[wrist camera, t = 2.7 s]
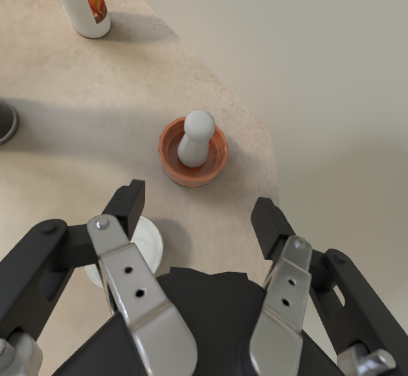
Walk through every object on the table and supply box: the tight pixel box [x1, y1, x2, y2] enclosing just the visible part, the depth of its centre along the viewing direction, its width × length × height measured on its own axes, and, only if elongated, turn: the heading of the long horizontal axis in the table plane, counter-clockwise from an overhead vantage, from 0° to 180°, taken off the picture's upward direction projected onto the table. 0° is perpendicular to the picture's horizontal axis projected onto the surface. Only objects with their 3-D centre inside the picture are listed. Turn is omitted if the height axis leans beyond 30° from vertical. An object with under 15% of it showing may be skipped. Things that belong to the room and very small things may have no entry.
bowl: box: [158, 116, 228, 187], centre depth 35 cm, size 12×12×5 cm
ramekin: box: [85, 216, 164, 290], centre depth 30 cm, size 11×11×5 cm
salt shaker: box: [178, 110, 215, 168], centre depth 31 cm, size 6×6×13 cm
